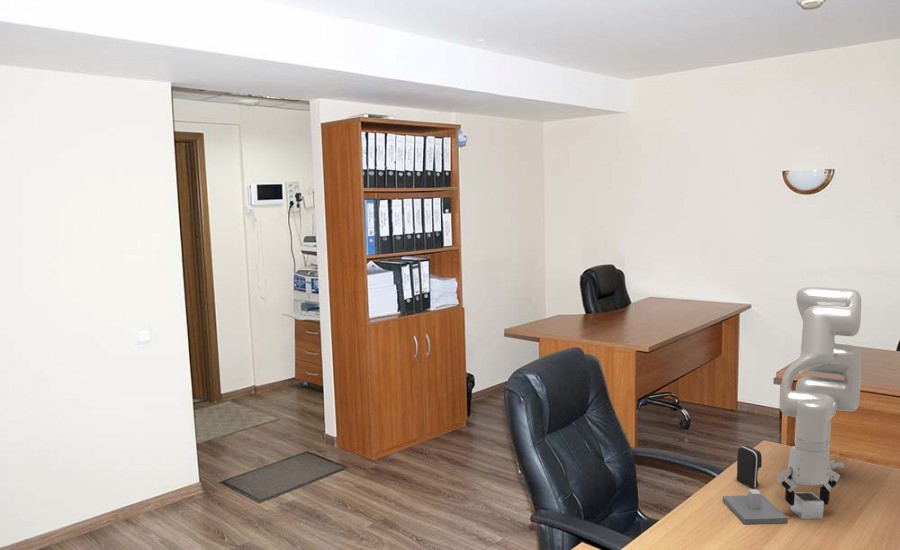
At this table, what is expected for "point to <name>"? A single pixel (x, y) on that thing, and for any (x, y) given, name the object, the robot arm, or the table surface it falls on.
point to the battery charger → (748, 465)
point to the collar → (807, 505)
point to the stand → (754, 509)
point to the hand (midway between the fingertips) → (806, 503)
